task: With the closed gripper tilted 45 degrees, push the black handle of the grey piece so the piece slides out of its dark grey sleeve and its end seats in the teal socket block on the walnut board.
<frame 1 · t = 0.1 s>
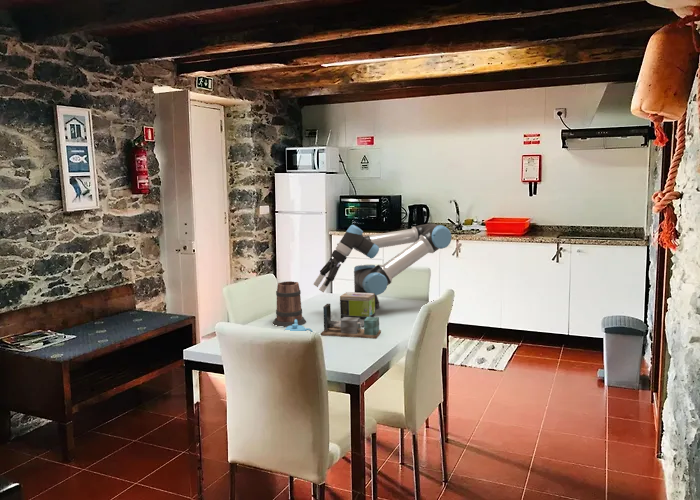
hand: (318, 288, 298), 15 cm above the table, tool tilted 35°, fingers open, 13 cm apart
tube stand: (345, 333, 273), on the table
tea box: (358, 324, 289), on the table
teapot: (294, 350, 250), on the table
tankard: (289, 321, 296), on the table
grey piece: (342, 317, 272), point 8 cm above the table, slide at 0.0 cm
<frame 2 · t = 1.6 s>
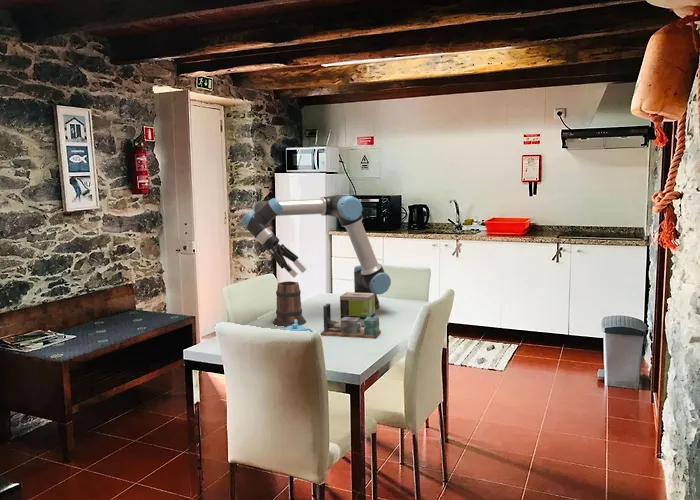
hand: (300, 273, 274), 28 cm above the table, tool tilted 45°, fingers open, 11 cm apart
nothing on the table moved.
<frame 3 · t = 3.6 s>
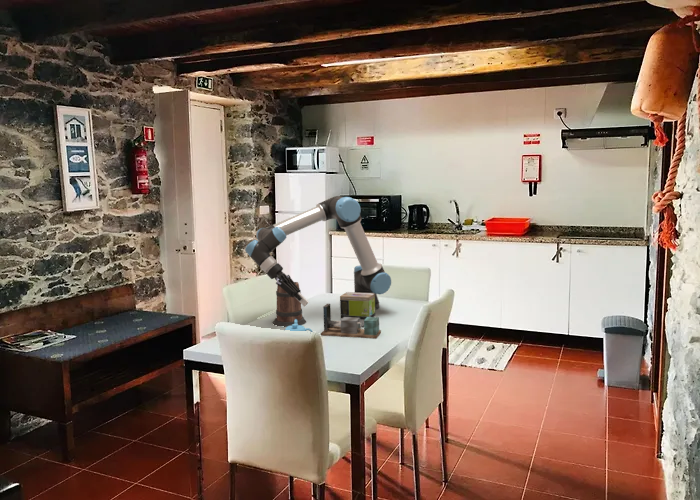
hand: (306, 304, 275), 13 cm above the table, tool tilted 45°, fingers closed
nothing on the table moved.
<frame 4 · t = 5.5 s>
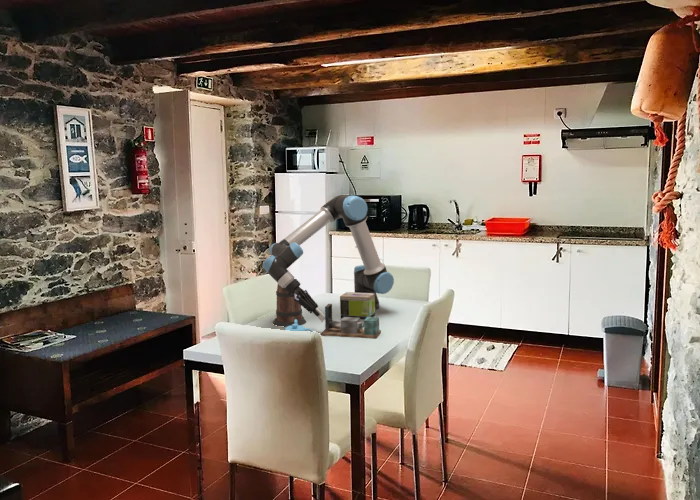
hand: (324, 320, 274), 6 cm above the table, tool tilted 45°, fingers closed
grey piece: (344, 317, 272), point 8 cm above the table, slide at 0.8 cm, touching gripper
everything else where it was.
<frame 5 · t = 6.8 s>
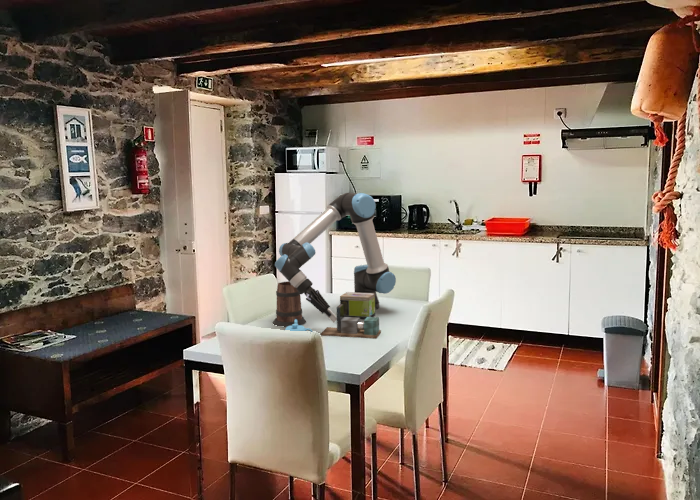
hand: (335, 320, 273), 6 cm above the table, tool tilted 45°, fingers closed
grey piece: (356, 318, 270), point 7 cm above the table, slide at 6.3 cm, touching gripper
everything else where it was.
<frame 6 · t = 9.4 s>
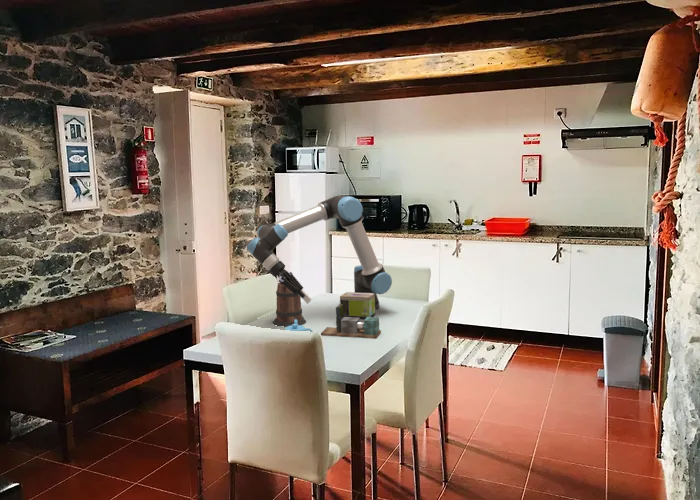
hand: (309, 301, 274), 15 cm above the table, tool tilted 45°, fingers closed
grey piece: (355, 318, 270), point 8 cm above the table, slide at 6.0 cm
everything else where it was.
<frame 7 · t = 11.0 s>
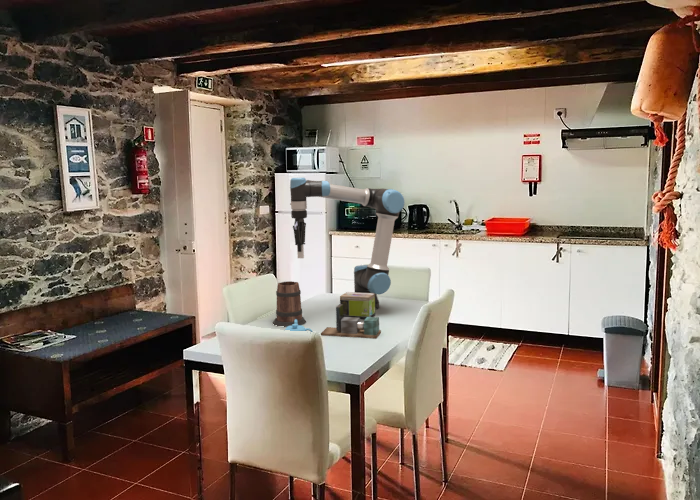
hand: (300, 258, 288), 32 cm above the table, tool pointing down, fingers closed
nothing on the table moved.
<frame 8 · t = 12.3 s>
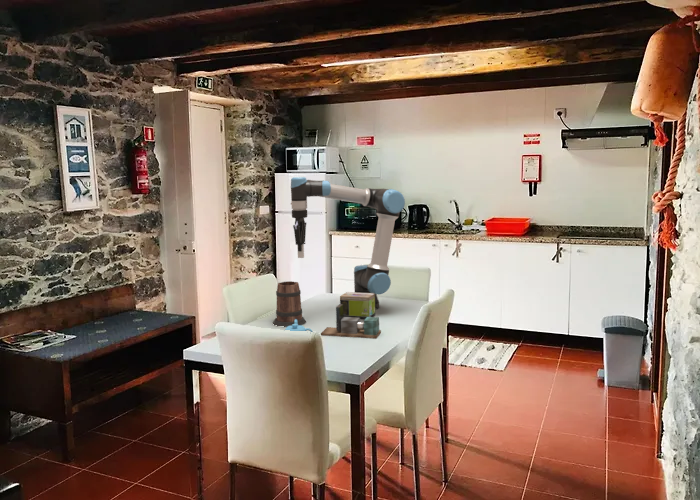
hand: (300, 257, 288), 32 cm above the table, tool pointing down, fingers closed
nothing on the table moved.
at the end: grey piece slide at 6.0 cm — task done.
